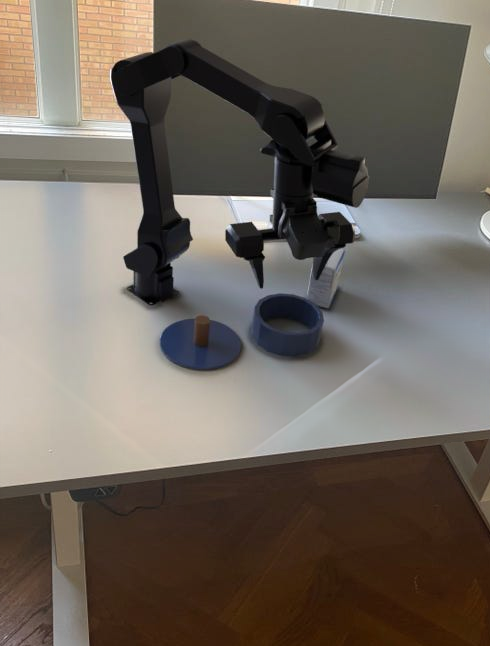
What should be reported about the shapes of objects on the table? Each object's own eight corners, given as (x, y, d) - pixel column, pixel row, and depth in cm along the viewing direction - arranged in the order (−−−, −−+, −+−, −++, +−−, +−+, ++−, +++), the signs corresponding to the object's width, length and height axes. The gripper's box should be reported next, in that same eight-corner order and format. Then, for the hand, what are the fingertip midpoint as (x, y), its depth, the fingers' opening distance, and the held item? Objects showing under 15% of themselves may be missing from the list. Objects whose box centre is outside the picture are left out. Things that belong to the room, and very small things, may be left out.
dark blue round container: (236, 333, 121) (239, 309, 118) (282, 308, 129) (286, 285, 126) (288, 368, 116) (293, 344, 113) (332, 340, 124) (337, 317, 121)
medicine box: (328, 309, 131) (336, 270, 126) (304, 303, 131) (312, 263, 126) (337, 288, 138) (346, 249, 132) (315, 281, 138) (322, 242, 132)
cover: (142, 343, 114) (142, 315, 111) (201, 314, 123) (203, 287, 120) (199, 384, 109) (201, 356, 106) (256, 350, 118) (260, 323, 115)
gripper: (250, 220, 93) (248, 320, 102) (377, 206, 100) (364, 300, 110) (223, 185, 101) (224, 281, 110) (343, 175, 108) (334, 265, 118)
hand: (288, 283), depth 112 cm, fingers open, 9 cm apart
